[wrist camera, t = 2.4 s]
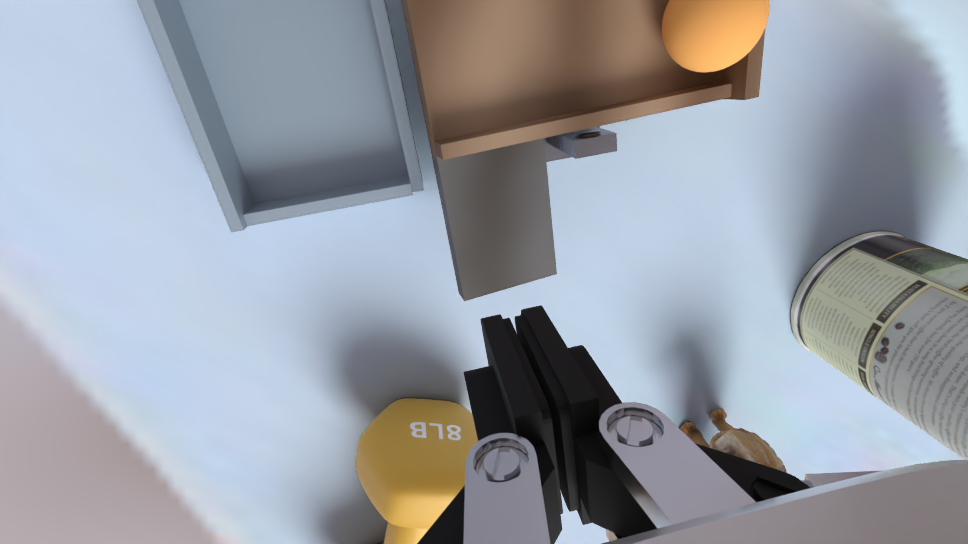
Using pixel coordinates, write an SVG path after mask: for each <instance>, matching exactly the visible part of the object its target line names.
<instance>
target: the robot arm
mask: <svg viewBox="0 0 968 544" xmlns="http://www.w3.org/2000/svg"><path fill="white" fill-rule="evenodd" d="M515 324H516V331H517V334H516V331H515V329H514V327H513V325H512V323H511V320H510V318H506V319H502V316H501V315H495V316H491V317H486V318H482V319H481V325H482V331H483V336H484V342H485V348H486V353H487V359H488V364H489V366H488V367H483V368H479V369H475V370H470V371H466V372H464V376H465V381H466V386H467V391H468V396H469V400H470V405H471V410H472V415H473V419H474V424H475V429H476V433H477V438H478V442H477V443H476V444H475V445H474V446H473V447H472V448H471V450H470V451H469V453H468V455H467V459H466V463H465V485H464V487H463V488H462V489H461V490H460V492H459V493H458V494H457V495H456V496H455V498H454V499H453V500H452V501H451V503H450V504H449V505H448V506H447V508H446V509H445V510H444V511H443V512H442V514H441V515H440V516H439V517H438V519H437V520H436V521H435V522H434V523H433V525H432V526H431V527H430V528H429V530H428V531H427V532H426V533H425V535H424V536H423V537H422V538H421V539H420V541H419V542H418V543H417V544H554V543H555V541H556V539H557V538H558V536H559V534H560V532H561V531H562V524H561V516H560V514H563V509H562V500H561V492H562V495H563V498H564V500H565V503H566V505H567V508H568V510H569V511H570V512H571V511H574V510H577V511H578V514H579V516H580V519H581V521H582V523H583V525H585V524H589V523H594V524H597V525H599V526H601V527H603V528H605V529H606V535H607V537H608V539H609V542H606V543H602V544H968V460H949V461H939V462H931V463H923V464H915V465H910V466H905V467H900V468H895V469H890V470H885V471H865V472H843V473H821V474H806V475H805V480H802V481H801V480H799V479H798V478H796V477H795V476H793V475H790V474H788V473H786V472H783V471H781V470H778V469H775V468H772V467H768V466H765V465H762V464H759V463H756V462H753V461H750V460H746V459H743V458H740V457H737V456H734V455H731V454H728V453H724V452H721V451H718V450H715V449H712V448H709V447H706V446H703V445H699V444H696V443H694V442H693V441H692V440H691V439H690V438H689V437H687V436H686V435H685V434H684V433H683V432H682V431H681V430H680V429H679V428H678V427H677V426H676V425H675V424H674V423H673V422H672V421H671V420H670V419H669V418H668V417H667V416H666V415H664V414H663V413H662V412H660V411H659V410H658V409H656V408H654V407H651V406H649V405H646V404H641V403H636V402H630V403H622V402H621V400H620V399H619V397H618V396H617V394H616V393H615V391H614V390H613V388H612V387H611V386H610V384H609V383H608V381H607V380H606V378H605V377H604V375H603V374H602V372H601V371H600V369H599V368H598V366H597V365H596V363H595V362H594V360H593V359H592V357H591V356H590V355H589V353H588V352H587V350H586V349H585V348H584V346H582V345H580V346H575V347H571V348H567V346H566V344H565V343H564V341H563V340H562V338H561V336H560V335H559V333H558V331H557V330H556V328H555V327H554V325H553V323H552V322H551V320H550V318H549V317H548V315H547V313H546V312H545V310H544V309H543V307H542V306H536V307H532V308H527V309H523V310H521V315H520V316H515ZM560 490H561V492H560Z"/></svg>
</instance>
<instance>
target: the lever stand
mask: <svg viewBox="0 0 968 544" xmlns="http://www.w3.org/2000/svg"><path fill="white" fill-rule="evenodd" d="M544 144H545V155H546V162H548V161H554V160H559V159H564V158H570V157H573V158H575V159H576V158H582V157H587V156H593V155H598V154H603V153H608V152H614V151H617V139H616V133H614V132H611V131H607V130H604V129H601V128H599V126H597V127H592V128H587V129H583V130H578V131H574V132H569V133H565V134H560V135H555V136H551V137H546V138H544Z"/></svg>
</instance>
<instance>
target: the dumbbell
mask: <svg viewBox="0 0 968 544" xmlns="http://www.w3.org/2000/svg"><path fill="white" fill-rule="evenodd" d="M477 442H478V438H477V433H476V429H475V424H474V419H473V415H472V413H471V412H469V411H468V410H467V409H466V408H465V407H463V406H462V405H460V404H457V403H454V402H450V401H443V400H431V399H418V398H405V399H400V400H397V401H394V402H393V403H391V404H390V405H389V406H388V407H387V408H385V409H384V410H383V411H382V412H381V413H380V414H379V415H378V416H377V417H376V418H375V419H374V420H373V422H372V423H371V424H370V425H369V426H368V427H367V428H366V429H365V431H364V432H363V433H362V435H361V437H360V439H359V442H358V446H357V452H356V472H357V475H358V478H359V480H360V482H361V484H362V486H363V488H364V490H365V492H366V494H367V496H368V497H369V499H370V501H371V502H372V504H373V505H374V507H375V508H376V509H377V511H378V512H379V513H380V514H381V516H382V517H383V518H384V519H385V520H386V521H388V524H387V528H386V533H385V539H384V543H381V544H417V543H418V542H419V541H420V539H421V538H422V537H423V536H424V535H425V533H426V532H427V531H428V530H429V528H430V527H431V526H432V525H433V523H434V522H435V521H436V520H437V519H438V517H439V516H440V515H441V514H442V512H443V511H444V510H445V509H446V508H447V506H448V505H449V504H450V503H451V501H452V500H453V499H454V498H455V496H456V495H457V494H458V493H459V492H460V490H461V489H462V488H463V487H464V485H465V463H466V459H467V455H468V453H469V451H470V450H471V448H472V447H473V446H474V445H475V444H476V443H477Z"/></svg>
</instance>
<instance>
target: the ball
mask: <svg viewBox="0 0 968 544" xmlns="http://www.w3.org/2000/svg"><path fill="white" fill-rule="evenodd" d="M768 15H769V0H669V2H668V4H667V6H666V9H665V12H664V15H663V20H662V38H663V42H664V46H665V48H666V50H667V52H668V54H669V55H670V57H671V58H672V59H673V60H674V61H675V62H676V63H677V64H679V65H680V66H682V67H683V68H686V69H688V70H691V71H695V72H714V71H718V70H721V69H724V68H727V67H729V66H731V65H733V64H735V63H736V62H738V61H739V60H741V59H742V58H743V57H744V56H746V55H747V54H748V53H749V52H750V51H751V50H752V48H753V47H754V46H755V45H756V43H757V42H758V41H759V39H760V37H761V36H762V34H763V31H764V29H765V27H766V24H767V20H768Z"/></svg>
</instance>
